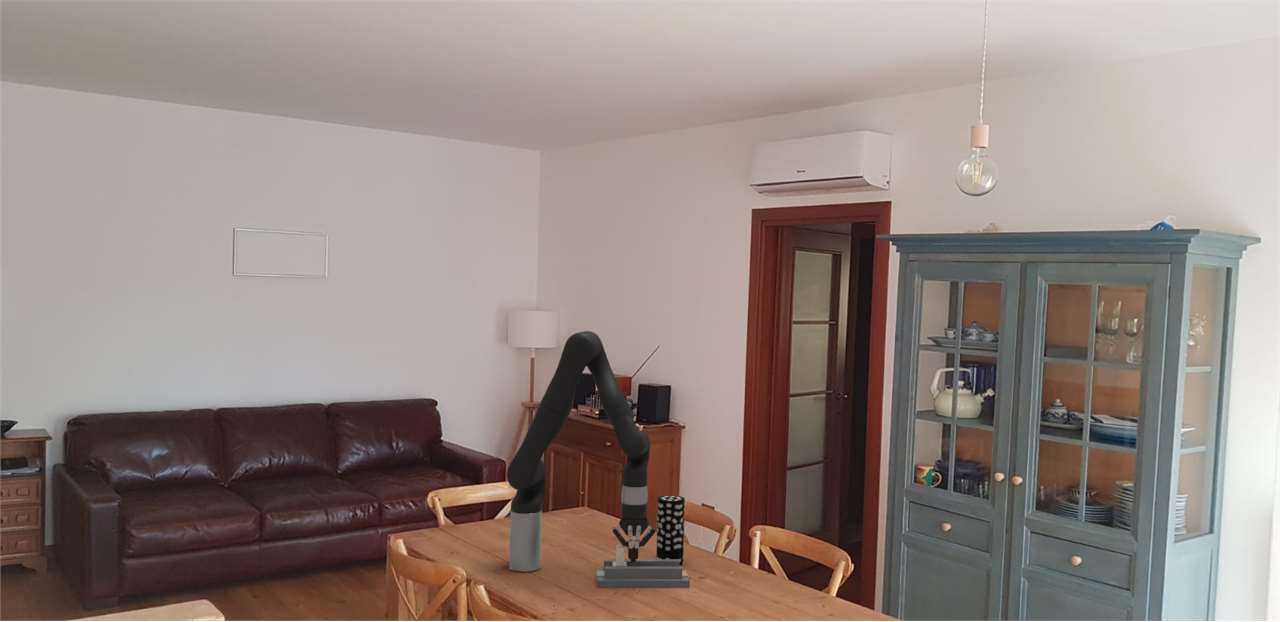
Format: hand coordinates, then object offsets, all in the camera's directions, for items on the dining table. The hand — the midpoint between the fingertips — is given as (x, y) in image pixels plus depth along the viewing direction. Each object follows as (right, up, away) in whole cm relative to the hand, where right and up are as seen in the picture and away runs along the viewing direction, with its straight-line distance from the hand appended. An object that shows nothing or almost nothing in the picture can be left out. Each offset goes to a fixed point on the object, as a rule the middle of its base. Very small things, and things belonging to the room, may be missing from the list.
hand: (633, 560), depth 273 cm
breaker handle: (-4, -4, 0) cm, 5 cm away
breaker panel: (+3, -6, 0) cm, 7 cm away
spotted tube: (+11, -6, +19) cm, 23 cm away
